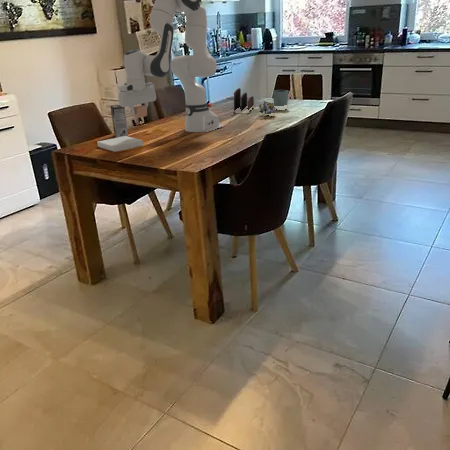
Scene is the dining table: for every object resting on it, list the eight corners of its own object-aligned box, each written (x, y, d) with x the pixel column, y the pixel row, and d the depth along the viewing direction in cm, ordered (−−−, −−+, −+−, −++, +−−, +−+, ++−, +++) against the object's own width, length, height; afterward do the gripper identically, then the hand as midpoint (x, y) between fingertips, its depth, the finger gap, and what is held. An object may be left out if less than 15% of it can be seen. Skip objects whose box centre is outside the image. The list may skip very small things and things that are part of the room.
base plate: (125, 140, 244) (125, 135, 243) (143, 145, 233) (142, 140, 232) (97, 146, 234) (97, 141, 233) (114, 151, 223) (113, 146, 222)
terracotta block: (141, 114, 242) (140, 104, 240) (147, 115, 239) (146, 105, 237) (133, 116, 239) (132, 106, 237) (139, 117, 236) (137, 107, 234)
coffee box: (113, 135, 257) (109, 105, 251) (125, 134, 259) (122, 104, 253) (116, 138, 249) (112, 107, 243) (128, 137, 251) (124, 106, 245)
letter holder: (233, 113, 305) (233, 91, 299) (239, 108, 323) (239, 86, 317) (249, 113, 303) (248, 90, 297) (254, 108, 320) (253, 86, 315)
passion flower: (271, 125, 290) (269, 112, 280) (256, 121, 294) (253, 107, 284) (279, 113, 294) (277, 98, 284) (264, 108, 299) (261, 94, 289)
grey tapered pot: (273, 110, 307) (273, 91, 302) (272, 108, 316) (272, 89, 312) (288, 110, 307) (289, 91, 302) (287, 107, 316) (287, 89, 311)
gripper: (149, 81, 241) (153, 108, 247) (115, 87, 229) (119, 115, 235) (157, 82, 237) (160, 110, 243) (122, 88, 225) (126, 117, 230)
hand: (139, 112), depth 239 cm, fingers closed on terracotta block, 5 cm apart
